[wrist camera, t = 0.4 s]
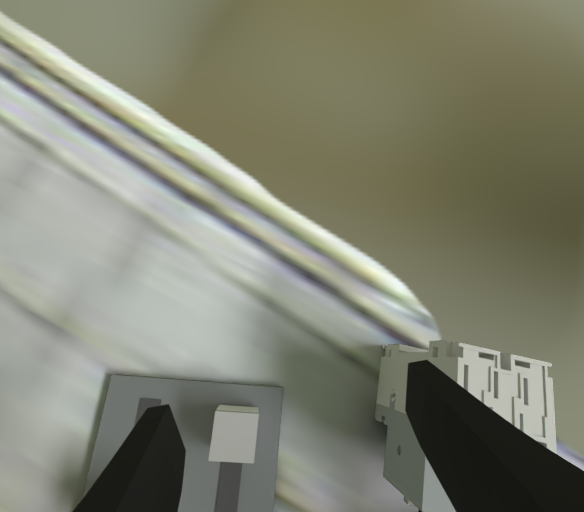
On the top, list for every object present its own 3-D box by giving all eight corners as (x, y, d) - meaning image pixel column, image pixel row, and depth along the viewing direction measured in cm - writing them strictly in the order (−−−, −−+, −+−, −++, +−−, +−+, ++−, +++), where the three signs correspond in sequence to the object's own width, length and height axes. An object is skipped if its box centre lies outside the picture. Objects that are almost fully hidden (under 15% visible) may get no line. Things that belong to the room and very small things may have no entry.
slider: (253, 450, 32) (253, 463, 28) (213, 448, 32) (208, 461, 28) (258, 407, 33) (258, 414, 29) (219, 404, 33) (215, 410, 29)
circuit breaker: (367, 481, 34) (450, 573, 20) (382, 345, 38) (458, 338, 24) (434, 495, 34) (564, 594, 20) (441, 358, 39) (551, 359, 24)
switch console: (265, 592, 30) (265, 602, 29) (65, 588, 28) (56, 598, 27) (282, 387, 36) (283, 388, 34) (115, 374, 34) (110, 375, 33)
